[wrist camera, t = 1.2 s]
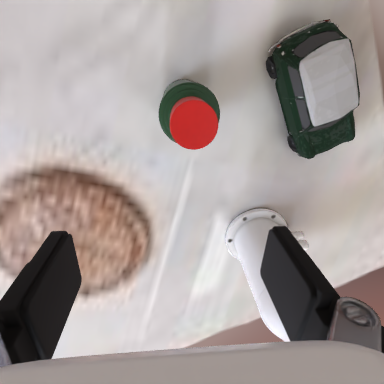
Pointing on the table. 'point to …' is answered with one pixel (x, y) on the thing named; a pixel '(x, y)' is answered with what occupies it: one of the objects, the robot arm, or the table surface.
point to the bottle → (178, 92)
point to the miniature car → (316, 87)
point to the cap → (193, 123)
